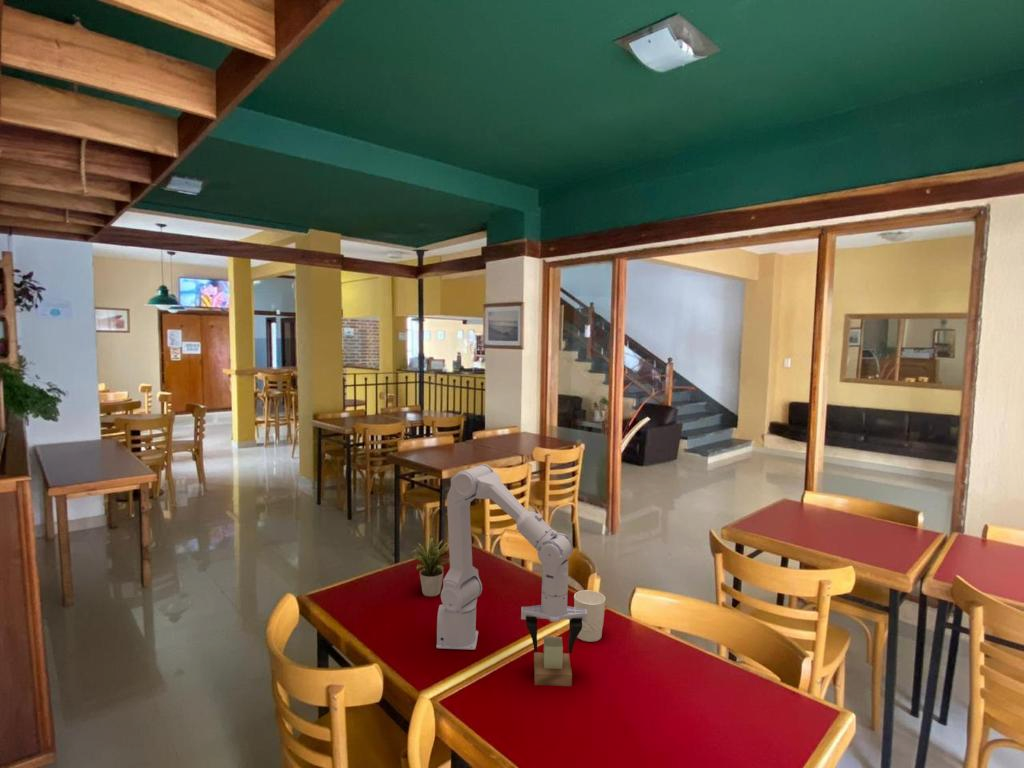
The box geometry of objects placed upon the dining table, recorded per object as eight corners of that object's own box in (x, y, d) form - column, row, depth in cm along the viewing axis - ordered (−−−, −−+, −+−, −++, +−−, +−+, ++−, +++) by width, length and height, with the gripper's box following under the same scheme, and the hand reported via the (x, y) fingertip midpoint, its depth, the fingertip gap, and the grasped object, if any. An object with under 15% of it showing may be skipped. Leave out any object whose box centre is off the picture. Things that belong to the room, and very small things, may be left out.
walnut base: (534, 687, 115) (534, 673, 115) (533, 664, 123) (534, 652, 123) (571, 688, 115) (572, 674, 115) (568, 666, 123) (568, 653, 123)
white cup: (603, 645, 131) (604, 606, 130) (571, 641, 133) (572, 602, 132) (604, 629, 139) (605, 591, 138) (574, 625, 140) (575, 588, 140)
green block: (544, 668, 117) (544, 646, 116) (543, 657, 121) (544, 636, 120) (562, 668, 117) (562, 647, 116) (561, 658, 121) (561, 637, 120)
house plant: (433, 610, 146) (434, 553, 145) (395, 598, 153) (396, 542, 152) (463, 590, 158) (464, 537, 157) (427, 580, 165) (427, 528, 164)
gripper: (521, 598, 114) (520, 659, 115) (589, 600, 113) (587, 661, 114) (521, 583, 121) (520, 641, 122) (585, 585, 120) (584, 643, 121)
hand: (552, 649), depth 119 cm, fingers open, 7 cm apart
